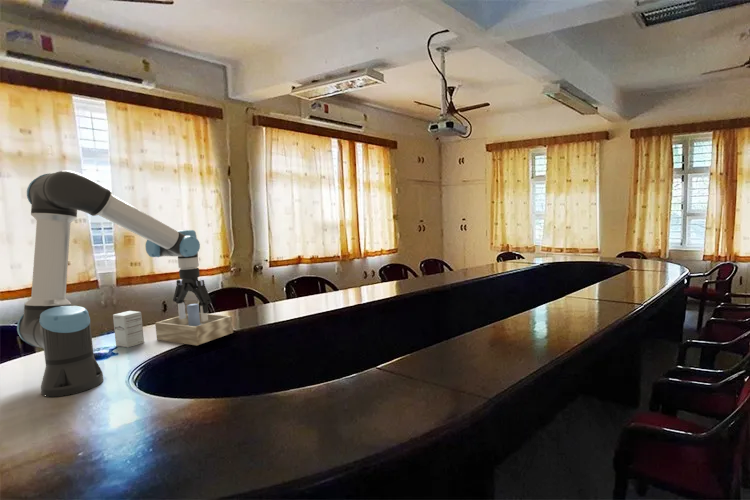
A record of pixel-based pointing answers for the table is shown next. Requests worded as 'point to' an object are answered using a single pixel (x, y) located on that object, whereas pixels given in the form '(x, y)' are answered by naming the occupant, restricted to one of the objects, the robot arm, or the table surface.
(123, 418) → the table surface
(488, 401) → the table surface
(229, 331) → the crate
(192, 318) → the peg
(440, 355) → the table surface
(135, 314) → the supplement box
